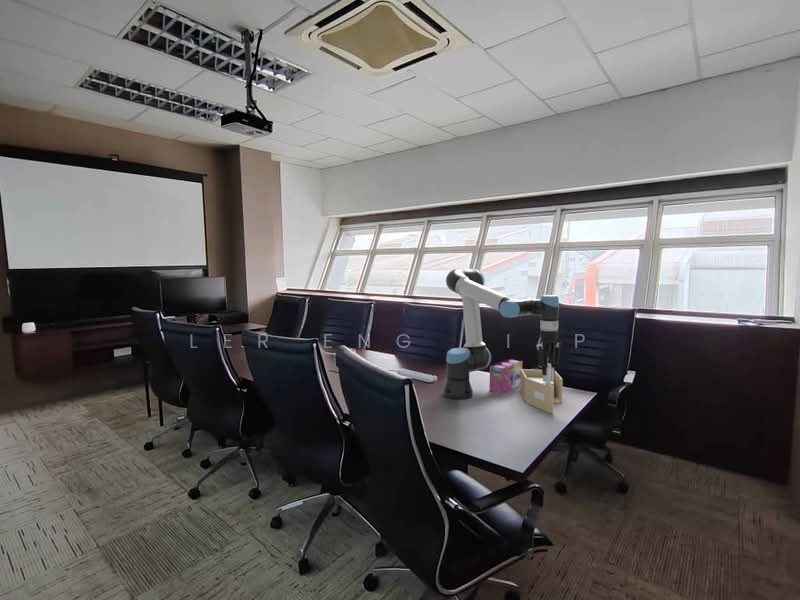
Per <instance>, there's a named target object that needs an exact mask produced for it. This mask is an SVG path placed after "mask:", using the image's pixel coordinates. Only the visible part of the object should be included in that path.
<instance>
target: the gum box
mask: <svg viewBox="0 0 800 600" xmlns="http://www.w3.org/2000/svg"><path fill="white" fill-rule="evenodd" d="M521 369H523V360H520V361H519V360H515V359H513V358H509V359H506V360H503V361H501V362H498V363H495V364H492V365H490V366H489V391H490V392H493V393H496V394H504V393H507V392H508V391H512V390H513V389H515V388H517V387H520V381H521Z"/></svg>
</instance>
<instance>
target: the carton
mask: <svg viewBox="0 0 800 600" xmlns="http://www.w3.org/2000/svg"><path fill="white" fill-rule="evenodd" d="M526 378H528V379H531V380H534V381H537V382H540V383H542V384H545V385H546V382H544V381H543V375H542V369H528V368H527V369H525V368H524V369H521V381H520V386H519V387H520V390H519V392H520V394H521V395H522V399H523V400H524V401H525V392H526ZM563 380H564V379H563V378H562V377H561V375H559V373H558V372H557V371H556V370H555V373H554V382H551V387H554V399H553V404H563Z"/></svg>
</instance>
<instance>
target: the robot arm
mask: <svg viewBox="0 0 800 600" xmlns="http://www.w3.org/2000/svg"><path fill="white" fill-rule="evenodd" d="M445 283H446V286H447V289H449V290H450V291H452V292H454V293H456V294H458V296H460V298H461V299H462V311H463V320H464V321H463V323H464V332H465V343H464V345H463V347H454V348H451V349H449V350H448V351H447V352H446V361H445V362H446V379H445V383H444V385H443V389H442V395H443V396H444V397H446V398H448V399H451V400H467V399H470V398H472V397H473V395H474V391H473V387H472V385H471V382H470V381H471V380H470V373H472V372H476V371H477V372H478V371H481V370H484V369H486V368H488V366H489V365H490V364H491V361H492V354H491V352H490V350H489V349H488V348H487V345H486V343H485V342H484V341H483V335H482V323H481V321H482V320H481V312H480V303H481V304H484V305H485V306H487V307H490V308H491V309H494V310H496V311H498V312H499V313H500V314H501V316H502V317H504V318H510V319H511V318H512V319H513V318H515V317H524V316H540V317H539V318H540V320H539V321H540V323H539V324H540V325H539V327H540V331H539V338H540V339H541V340H540V342H539V344H536V345H535V350H536V353H537V365H538V367H540V368H541V370H542V375H543V381H544V382H546V383H549V368H547V366H548V363H550V364H551V382H554V373H555V371H556V370H555V369H556V368H557V367H558V366H559V364H560V356H561V348H562V346H563V344H562V343H559V342H558V339H559V331H558V329H559V313H560V312H559V309H560V303H559V296H558V295H556V294H543V295H541V296H540V298H528V297H521V298H517V299H514V298H512V297H510V296H507V295H504V294H502V293H500V292H499V291H496V290H494V289H491V288H488V287H486V286H484V285H485V277H484V274H483V273H482V272H481V271H480V270H478V269H475V268H456V269H452V270H451V271H449V272H448V274H447V275H446V277H445Z"/></svg>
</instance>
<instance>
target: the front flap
mask: <svg viewBox="0 0 800 600" xmlns="http://www.w3.org/2000/svg"><path fill="white" fill-rule="evenodd" d="M547 368H549V383H546V385H545V384H542V383H540V382H537V381H534V380H531V379H528V378H526V392H525V400H524V402H525V403H527V404H528V405H529V404H530V405H532V406H534V407H536V408H538V409H541V410H544V411H545V412H547V413H550V414H554V403H553V399H554V387H551V364H550V363H549V362H548V366H547Z"/></svg>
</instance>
